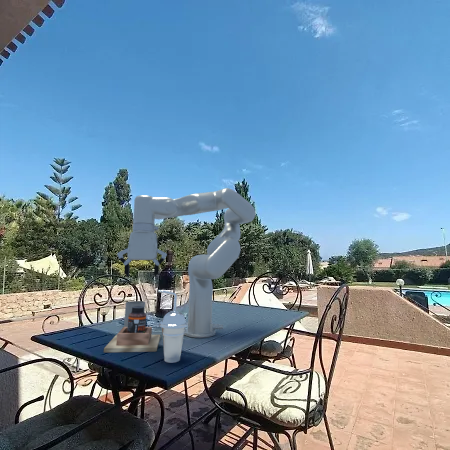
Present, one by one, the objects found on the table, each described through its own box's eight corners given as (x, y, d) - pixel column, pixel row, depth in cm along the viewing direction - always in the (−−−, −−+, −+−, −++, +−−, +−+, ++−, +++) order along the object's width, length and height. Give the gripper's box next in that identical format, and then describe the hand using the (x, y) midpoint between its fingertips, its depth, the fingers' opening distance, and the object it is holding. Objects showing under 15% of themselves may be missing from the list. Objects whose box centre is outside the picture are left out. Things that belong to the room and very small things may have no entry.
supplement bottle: (139, 343, 92) (141, 308, 93) (122, 342, 93) (125, 307, 95) (147, 339, 97) (149, 306, 99) (132, 337, 99) (134, 305, 100)
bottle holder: (160, 337, 104) (161, 324, 105) (156, 351, 88) (157, 336, 89) (115, 338, 102) (116, 325, 102) (103, 352, 86) (104, 336, 87)
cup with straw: (176, 367, 76) (179, 292, 78) (149, 361, 79) (153, 290, 82) (192, 357, 83) (194, 289, 86) (167, 353, 87) (170, 288, 90)
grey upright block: (132, 328, 117) (134, 304, 118) (119, 325, 121) (121, 302, 123) (147, 325, 124) (149, 302, 125) (135, 322, 128) (136, 300, 130)
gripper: (168, 230, 107) (166, 275, 105) (121, 229, 104) (118, 276, 102) (167, 228, 100) (165, 277, 97) (116, 227, 97) (113, 277, 95)
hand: (141, 276), depth 100 cm, fingers open, 9 cm apart
